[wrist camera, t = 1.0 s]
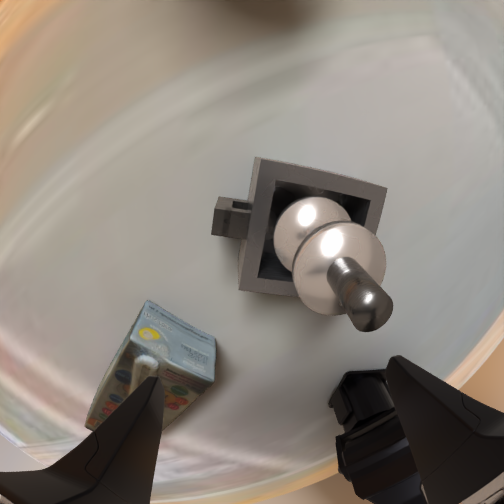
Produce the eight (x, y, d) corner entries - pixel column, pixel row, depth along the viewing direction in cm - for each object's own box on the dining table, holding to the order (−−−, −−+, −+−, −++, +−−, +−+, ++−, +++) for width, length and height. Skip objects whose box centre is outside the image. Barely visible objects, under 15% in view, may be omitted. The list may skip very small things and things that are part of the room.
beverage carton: (222, 337, 25) (220, 390, 19) (148, 418, 30) (139, 457, 24) (147, 294, 23) (123, 341, 17) (96, 391, 28) (80, 428, 22)
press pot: (355, 178, 20) (387, 188, 15) (332, 271, 22) (353, 301, 18) (226, 152, 19) (222, 153, 14) (211, 255, 21) (205, 285, 17)
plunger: (358, 204, 16) (447, 256, 8) (338, 276, 18) (397, 363, 10) (281, 188, 15) (328, 232, 7) (265, 267, 17) (288, 365, 9)
